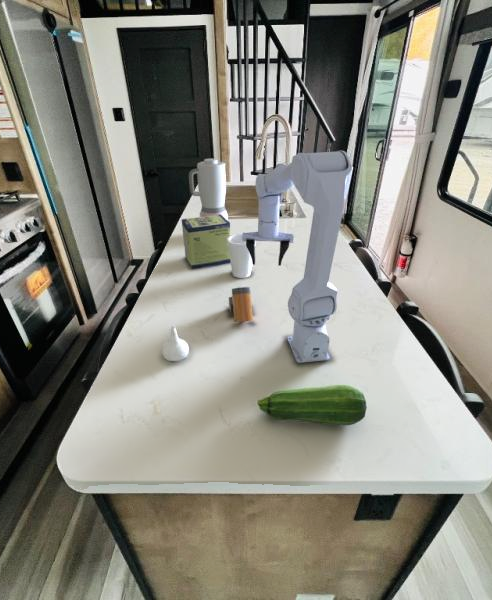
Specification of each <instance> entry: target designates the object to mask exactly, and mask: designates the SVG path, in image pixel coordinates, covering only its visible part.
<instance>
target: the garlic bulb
mask: <svg viewBox="0 0 492 600" xmlns="http://www.w3.org/2000/svg"><path fill="white" fill-rule="evenodd" d="M169 328H170V333H169V334H170V336H169V337H170V338H169V339H168V340H167V341H165V343H163V345H162V348H161V354H162V356H163V358H164V359H165V360H166V361H170V362H179V361H181V360H184V359H185V358H186V357H188V355H189V352H190V347H189V343H188V342H187V341H186V340H184V339H183V338H179V335H178V332H177V329H176V326H175V325H171V326H170V327H169Z"/></svg>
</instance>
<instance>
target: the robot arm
mask: <svg viewBox="0 0 492 600" xmlns="http://www.w3.org/2000/svg"><path fill="white" fill-rule="evenodd" d="M353 170H354V167H353V164H352V162H351V159H350V156H349V155H348V152H346V151H344V150H336V151H325V152H323V151H321V152H308V153H307V152H306V153H304V152H298V153H296V154H295V155H293V156H292V157H291V162H290V163H289V164H285V163H284V162H283V163H281V162H280V163H277V164H276V165H275V167H274V168H273V169H272V168H271V169H270V170H269V172H268V173H258V174H257V176H256V177H255V183H254V185H255V193H256V195H257V197H258V213H257V214H258V215H257V217H258V218H257V223H258V224H257V231H252V232H251V231H250V232H242V233H241V234H242V241H246V247H247V249H248V251H249V253H250V255H251V258H252V266H255V265H256V246H255V241H256V242H279V255H278V261H277V263H278V265H277V266H279V267H280V266H282V262H283V259H284V256H285V254H286V252H287V251H288V250H289V248H290V244H294V237H295V236H294V233H285V232H279V223H280V206H281V205H280V204H281V203H282V201H283V196H284V195H285V191H288V190H290V189H291V188H293V186H294V188H295V189H296V191H297V192H298V194H299V196H300V197H301V199H302V202H304V203H305V204H306V205H309V206H310V207H312V208H313V213H312V214H313V215H312V218H311V226H310V233H309V239H308V245H307V252H306V260H305V265H304V272H303V278H302V279H301V280H300V281H299V282H298V283H296V284H295V285H294V286H293V287H292V290H291V293H290V296H289V298H288V300H287V310H288V313H289V315H290V317H291V319H292V320H293V321H294V322H293V329H292V330H293V331H292V335H289V336H287V337H286V339H287V342H288V344H289V347H290V349H291V351H292V354H293V356H294V358H295V360H296V363H298V364H303V363H312V362H319V361H320V362H321V361H329V360H330V359H331V356H330V354H329V353H328V352H329V346H330V336H329V333H328V332H327V327H326V325H327V321H329V320H330V318H331V316H332V315H335V313H336V311H337V309H338V300H337V299H338V298H337V297H338V289H337V288H336V286H335V285H334V284H333V283H332V282H331V281H329V280H330V276H331V272H332V265H333V262H334V261H333V260H334V256H335V251H336V246H337V243H338V237H339V232H340V227H341V223H342V218H343V213H344V208H345V201H346V200H347V198H348V194H349V189H350V184H351V180H352V175H353Z"/></svg>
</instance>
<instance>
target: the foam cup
mask: <svg viewBox="0 0 492 600" xmlns="http://www.w3.org/2000/svg"><path fill="white" fill-rule="evenodd" d="M242 234H243V233H235V234H230V236H229V237H228V238H227V246H228V249H229V255H230V261H231V262H230V266H231V267H230V268H231V272H232V277H235V278H238V279H246V278H248V277H250V276H251V273H252V268H253V263H252V258H251V255H250V253H249V251H248V249H247V247H246V241H242ZM256 246H257V241H255V247H256Z"/></svg>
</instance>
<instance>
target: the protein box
mask: <svg viewBox="0 0 492 600" xmlns="http://www.w3.org/2000/svg"><path fill="white" fill-rule="evenodd" d="M181 228H182V237H183V247H184V257H185V260H186V261H187V263H188V265H189V267H190V268H191V270H193V269H201V268H206V267H212V266H217V265H224V264H231V261H230V255H229V249H228V246H227V238H228V237H229V236H231V222H230V221H229V220H228V221H227V220H226V219H225V218H224V217H223V216H222V215H221V214H219V215H212V216H204V217H200V216H197V217H187V218H182V219H181Z"/></svg>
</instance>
